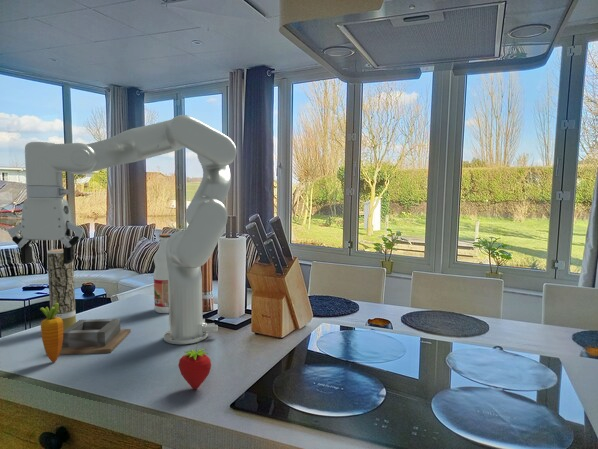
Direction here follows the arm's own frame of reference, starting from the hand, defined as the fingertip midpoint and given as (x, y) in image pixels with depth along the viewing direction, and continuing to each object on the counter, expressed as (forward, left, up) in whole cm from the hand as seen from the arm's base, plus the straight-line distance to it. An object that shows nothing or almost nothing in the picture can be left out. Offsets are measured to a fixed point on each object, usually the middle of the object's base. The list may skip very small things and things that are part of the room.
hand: (48, 263), depth 99 cm
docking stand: (-4, -13, -25) cm, 29 cm away
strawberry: (-38, +17, -26) cm, 49 cm away
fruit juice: (-18, -44, -26) cm, 54 cm away
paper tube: (+10, -26, -26) cm, 38 cm away
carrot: (0, 0, -26) cm, 26 cm away
